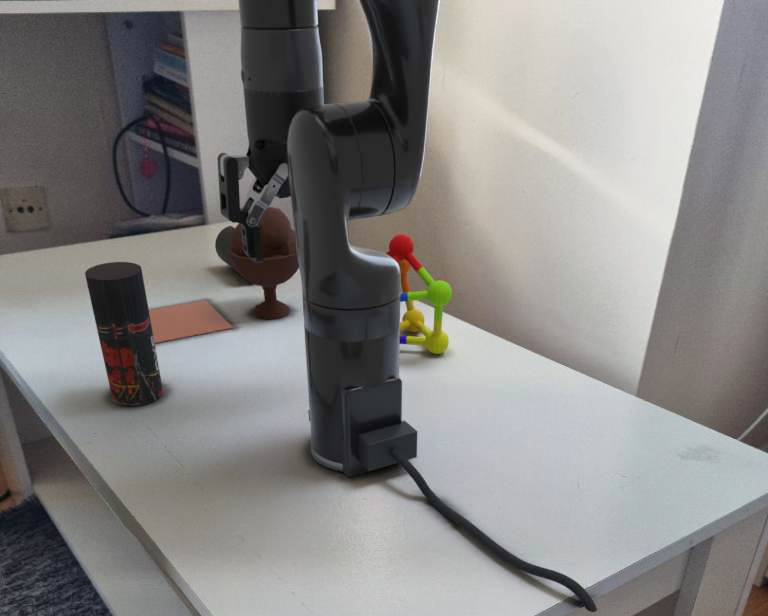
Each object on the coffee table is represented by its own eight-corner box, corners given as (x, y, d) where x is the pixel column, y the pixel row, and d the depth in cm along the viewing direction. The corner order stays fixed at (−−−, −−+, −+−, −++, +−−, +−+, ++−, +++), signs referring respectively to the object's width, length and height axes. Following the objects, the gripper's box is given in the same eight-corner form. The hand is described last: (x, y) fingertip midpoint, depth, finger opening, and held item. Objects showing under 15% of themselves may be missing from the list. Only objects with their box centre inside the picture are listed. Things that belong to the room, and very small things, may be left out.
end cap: (217, 269, 133) (212, 228, 129) (257, 262, 136) (253, 221, 132) (241, 287, 126) (236, 244, 122) (282, 279, 129) (279, 237, 125)
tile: (233, 328, 113) (233, 327, 113) (148, 344, 108) (148, 343, 108) (205, 300, 121) (205, 300, 121) (126, 315, 117) (126, 314, 117)
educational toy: (331, 348, 110) (321, 234, 102) (409, 328, 115) (405, 219, 108) (392, 380, 98) (386, 254, 90) (476, 356, 104) (477, 236, 96)
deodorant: (108, 389, 97) (81, 266, 88) (157, 380, 99) (135, 259, 91) (116, 410, 93) (89, 283, 84) (168, 400, 95) (146, 275, 86)
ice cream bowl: (313, 299, 122) (308, 196, 113) (300, 328, 113) (293, 218, 104) (245, 297, 123) (234, 194, 114) (226, 325, 113) (213, 216, 105)
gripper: (224, 93, 70) (243, 276, 79) (368, 82, 76) (370, 254, 85) (197, 82, 75) (218, 255, 85) (334, 72, 81) (339, 236, 90)
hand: (294, 254), depth 85 cm, fingers open, 8 cm apart
